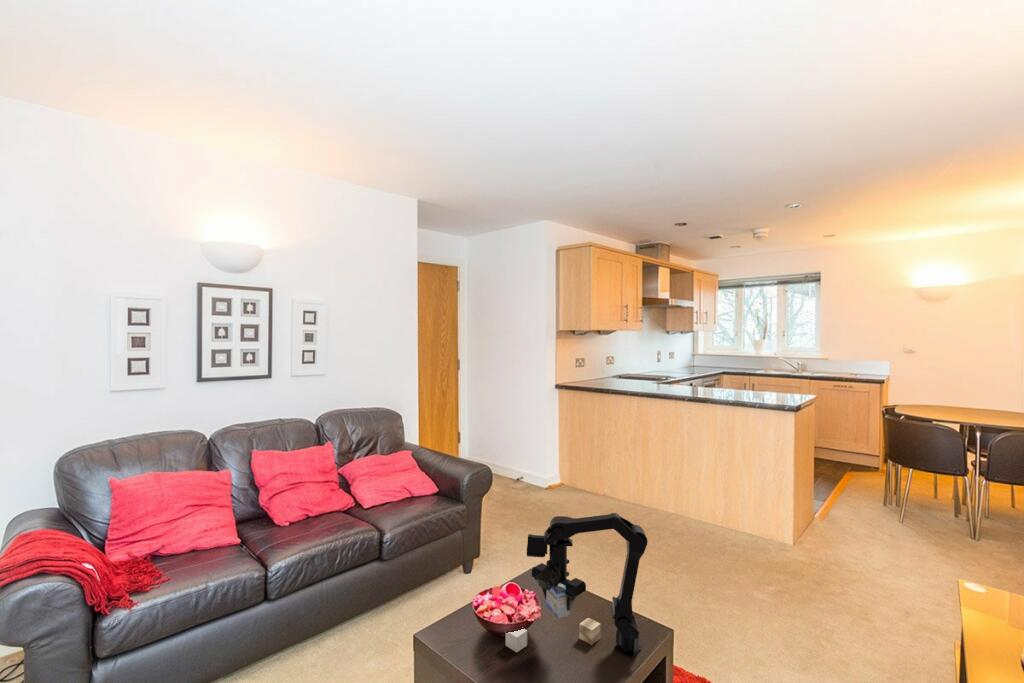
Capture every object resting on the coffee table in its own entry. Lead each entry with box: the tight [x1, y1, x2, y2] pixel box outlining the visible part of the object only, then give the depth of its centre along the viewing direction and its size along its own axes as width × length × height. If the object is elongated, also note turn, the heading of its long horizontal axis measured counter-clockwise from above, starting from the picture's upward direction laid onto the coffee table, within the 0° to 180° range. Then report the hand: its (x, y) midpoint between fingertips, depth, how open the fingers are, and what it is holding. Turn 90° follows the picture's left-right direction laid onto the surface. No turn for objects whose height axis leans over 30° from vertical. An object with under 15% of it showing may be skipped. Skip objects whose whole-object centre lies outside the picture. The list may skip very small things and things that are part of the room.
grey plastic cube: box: [505, 628, 528, 653], centre depth 155 cm, size 5×5×5 cm
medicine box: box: [545, 583, 570, 619], centre depth 156 cm, size 8×4×9 cm, turn 25°
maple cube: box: [578, 617, 602, 646], centre depth 160 cm, size 5×5×5 cm
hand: (557, 604), depth 156 cm, fingers closed on medicine box, 9 cm apart
